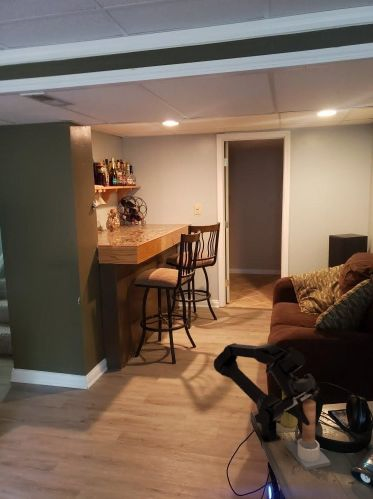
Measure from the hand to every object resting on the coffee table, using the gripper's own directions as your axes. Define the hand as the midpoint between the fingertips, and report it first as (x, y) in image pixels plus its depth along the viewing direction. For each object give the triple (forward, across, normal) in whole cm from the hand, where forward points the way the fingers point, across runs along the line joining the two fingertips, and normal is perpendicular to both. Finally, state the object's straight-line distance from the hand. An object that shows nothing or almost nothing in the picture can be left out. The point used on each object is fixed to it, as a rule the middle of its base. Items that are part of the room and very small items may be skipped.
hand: (312, 422), depth 126 cm
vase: (-3, +12, +22) cm, 26 cm away
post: (+4, 0, +6) cm, 7 cm away
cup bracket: (+8, +1, +11) cm, 14 cm away
